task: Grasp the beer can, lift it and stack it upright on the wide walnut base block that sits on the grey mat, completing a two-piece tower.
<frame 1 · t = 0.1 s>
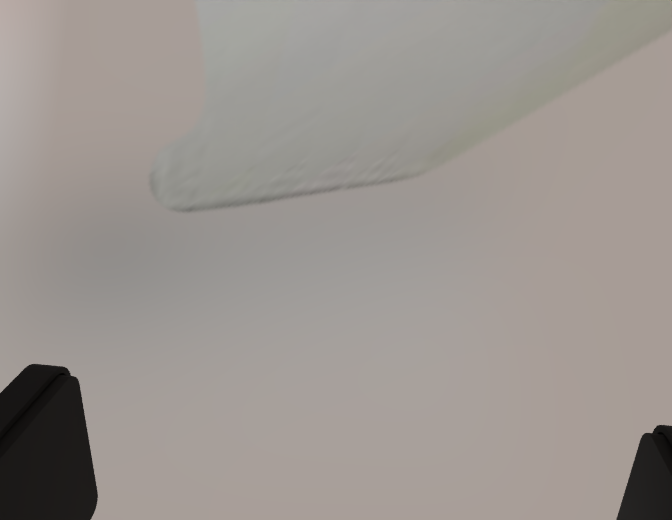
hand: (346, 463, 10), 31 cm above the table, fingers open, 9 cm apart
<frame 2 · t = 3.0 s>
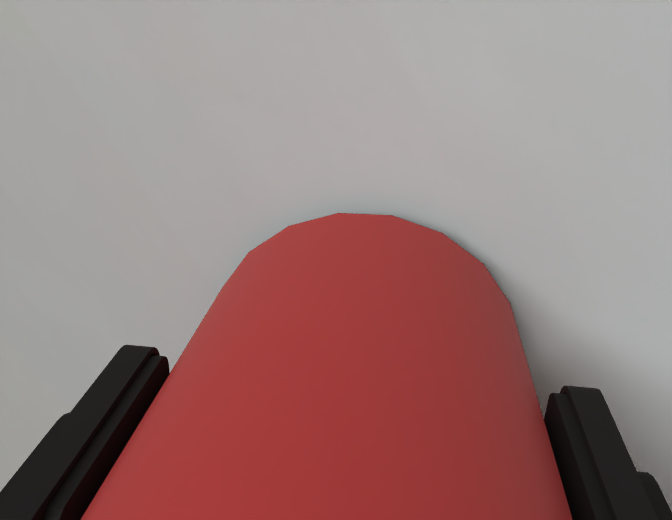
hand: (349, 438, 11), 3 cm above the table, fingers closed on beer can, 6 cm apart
beer can: (364, 336, 14), on the table, touching gripper
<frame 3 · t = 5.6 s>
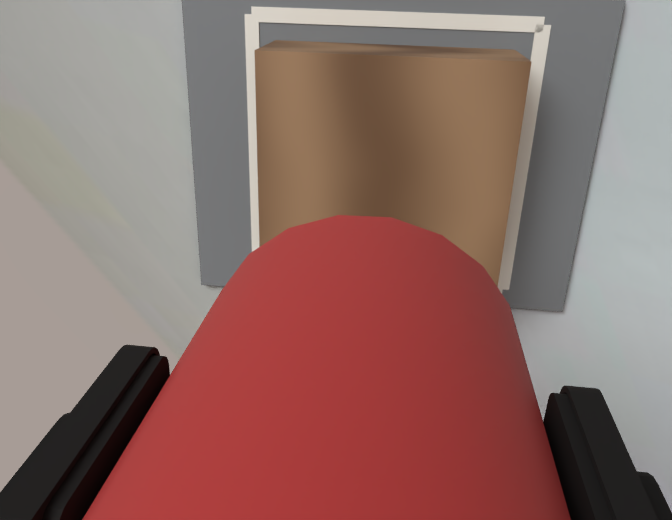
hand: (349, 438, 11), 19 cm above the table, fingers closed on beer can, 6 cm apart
beer can: (364, 337, 14), point 16 cm above the table, touching gripper
grey mat: (386, 158, 29), on the table
walnut base block: (385, 161, 28), resting on grey mat
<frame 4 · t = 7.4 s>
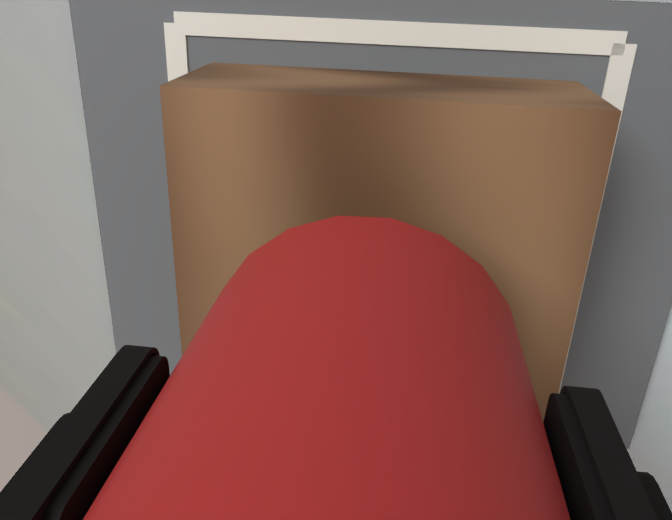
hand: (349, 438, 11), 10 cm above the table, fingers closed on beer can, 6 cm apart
beer can: (364, 338, 14), point 6 cm above the table, touching gripper
grey mat: (379, 234, 20), on the table
walnut base block: (378, 239, 19), resting on grey mat
when the fingers open (9 cm above the table, at t = 8.4 s): beer can drops 1 cm, resting on walnut base block.
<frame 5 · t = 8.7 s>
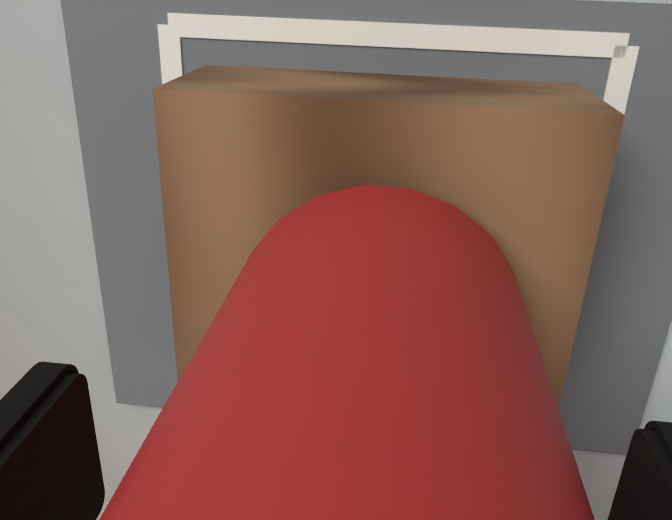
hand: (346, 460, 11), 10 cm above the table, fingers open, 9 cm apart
beer can: (378, 301, 15), point 4 cm above the table, touching walnut base block
grey mat: (377, 239, 19), on the table
walnut base block: (376, 244, 19), resting on grey mat, touching beer can
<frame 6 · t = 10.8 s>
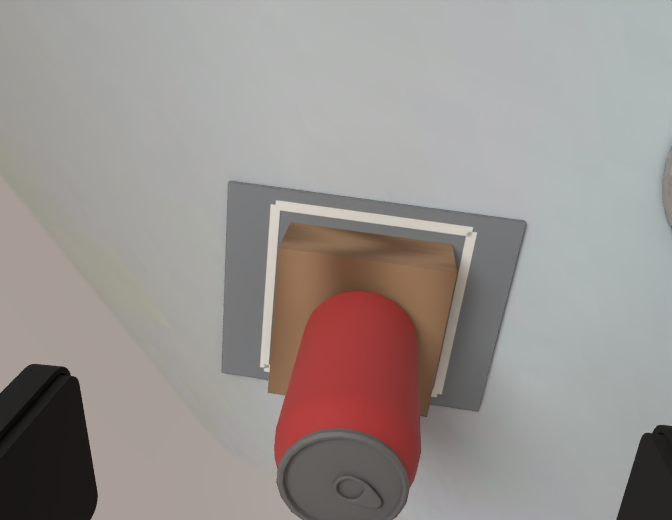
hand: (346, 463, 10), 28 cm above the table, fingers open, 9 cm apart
beer can: (361, 334, 37), point 4 cm above the table, touching walnut base block
grey mat: (361, 301, 41), on the table
walnut base block: (360, 304, 41), resting on grey mat, touching beer can
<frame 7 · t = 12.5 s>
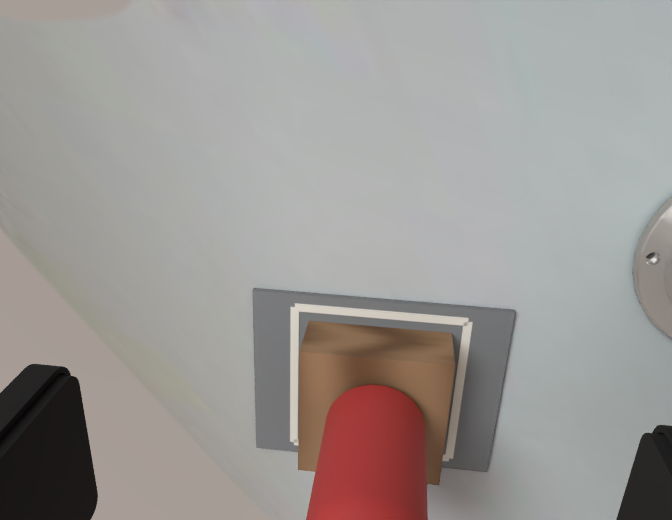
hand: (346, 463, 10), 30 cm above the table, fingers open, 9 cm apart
beer can: (375, 418, 42), point 4 cm above the table, touching walnut base block
grey mat: (375, 382, 46), on the table
walnut base block: (375, 385, 46), resting on grey mat, touching beer can
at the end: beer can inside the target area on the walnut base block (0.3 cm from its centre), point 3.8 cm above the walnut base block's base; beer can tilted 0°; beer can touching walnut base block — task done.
